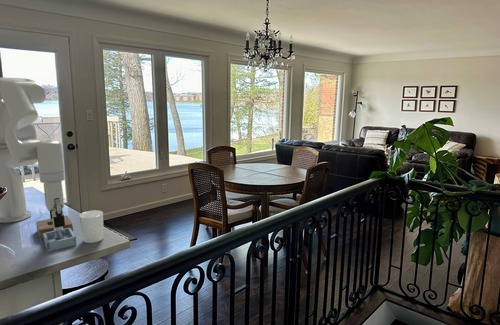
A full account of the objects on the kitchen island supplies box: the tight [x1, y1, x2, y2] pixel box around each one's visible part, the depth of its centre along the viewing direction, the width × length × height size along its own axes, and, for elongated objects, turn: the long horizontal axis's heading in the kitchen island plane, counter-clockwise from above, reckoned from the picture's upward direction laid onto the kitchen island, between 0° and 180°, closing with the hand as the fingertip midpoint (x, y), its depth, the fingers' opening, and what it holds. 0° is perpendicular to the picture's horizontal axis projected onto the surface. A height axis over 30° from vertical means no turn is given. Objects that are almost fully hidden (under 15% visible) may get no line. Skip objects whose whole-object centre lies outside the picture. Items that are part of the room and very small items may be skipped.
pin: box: [51, 210, 64, 241], centre depth 121 cm, size 3×3×12 cm
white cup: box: [78, 209, 104, 244], centre depth 124 cm, size 8×8×10 cm
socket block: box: [35, 215, 74, 241], centre depth 131 cm, size 11×11×4 cm
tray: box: [43, 228, 77, 252], centre depth 122 cm, size 11×9×3 cm
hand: (57, 222), depth 121 cm, fingers open, 9 cm apart
